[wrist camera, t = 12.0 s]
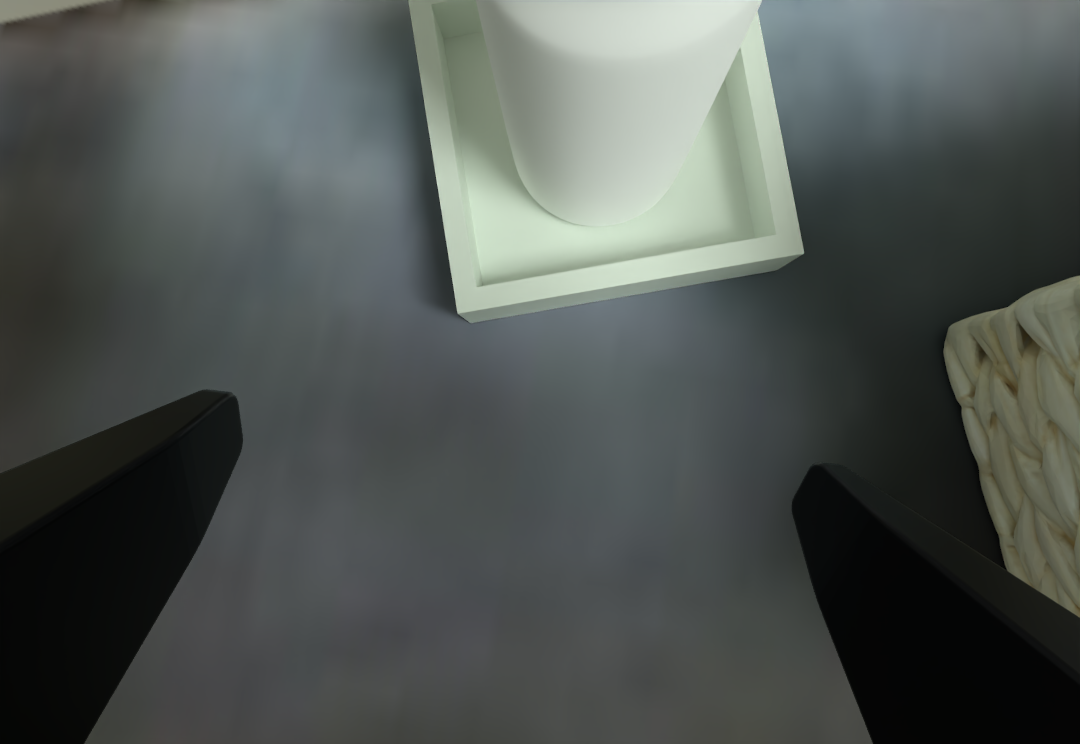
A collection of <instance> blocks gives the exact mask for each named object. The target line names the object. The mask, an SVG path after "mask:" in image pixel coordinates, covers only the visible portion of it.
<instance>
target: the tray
mask: <svg viewBox="0 0 1080 744" xmlns="http://www.w3.org/2000/svg"><path fill="white" fill-rule="evenodd" d="M408 2H409V8H410V15H411V21H412V27H413V34H414V40H415V46H416V53H417V59H418V65H419V72H420V78H421V84H422V91H423V97H424V104H425V110H426V116H427V123H428V129H429V135H430V142H431V148H432V154H433V161H434V167H435V173H436V180H437V186H438V192H439V199H440V205H441V211H442V218H443V224H444V231H445V237H446V243H447V250H448V256H449V262H450V269H451V275H452V281H453V288H454V294H455V300H456V307H457V313H458V314H459V315H460V316H461V317H463V318H464V319H465V320H467V321H468V322H470V323H475V322H481V321H487V320H493V319H499V318H504V317H510V316H516V315H522V314H528V313H533V312H539V311H545V310H551V309H556V308H562V307H568V306H574V305H580V304H585V303H591V302H597V301H603V300H609V299H614V298H620V297H626V296H632V295H637V294H643V293H649V292H655V291H661V290H666V289H672V288H678V287H684V286H690V285H695V284H701V283H707V282H713V281H719V280H724V279H730V278H736V277H742V276H747V275H753V274H759V273H765V272H771V271H776V270H778V269H780V268H781V267H783V266H785V265H786V264H788V263H790V262H791V261H793V260H794V259H796V258H798V257H799V256H801V255H803V254H804V249H803V244H802V238H801V233H800V228H799V223H798V218H797V213H796V207H795V202H794V197H793V192H792V187H791V182H790V176H789V171H788V166H787V161H786V156H785V151H784V145H783V140H782V135H781V130H780V125H779V120H778V114H777V109H776V104H775V99H774V94H773V89H772V83H771V78H770V73H769V68H768V63H767V58H766V52H765V47H764V42H763V37H762V32H761V27H760V21H759V16H758V11H757V12H756V14H755V17H754V19H753V21H752V23H751V25H750V27H749V29H748V31H747V33H746V36H745V38H744V40H743V42H742V44H741V46H740V48H739V50H738V52H737V54H736V56H735V59H734V61H733V63H732V65H731V67H730V69H729V71H728V73H727V75H726V77H725V79H724V81H723V83H722V85H721V88H720V90H719V92H718V94H717V96H716V98H715V100H714V102H713V104H712V106H711V108H710V110H709V112H708V114H707V116H706V118H705V120H704V123H703V125H702V127H701V129H700V131H699V133H698V135H697V137H696V139H695V141H694V143H693V145H692V147H691V149H690V151H689V153H688V155H687V157H686V159H685V161H684V163H683V165H682V167H681V169H680V171H679V173H678V175H677V177H676V178H675V180H674V182H673V184H672V185H671V187H670V188H669V189H668V191H667V192H666V193H665V195H664V196H663V197H662V198H661V199H660V200H659V201H658V202H657V203H656V204H655V205H654V206H653V207H651V208H650V209H649V210H647V211H646V212H644V213H643V214H641V215H639V216H637V217H635V218H633V219H631V220H629V221H626V222H623V223H619V224H615V225H610V226H584V225H579V224H574V223H571V222H568V221H565V220H563V219H561V218H559V217H557V216H555V215H553V214H551V213H550V212H548V211H547V210H546V209H544V208H543V207H542V206H541V205H540V204H539V203H537V202H536V200H535V199H534V198H533V197H532V196H531V195H530V193H529V192H528V191H527V189H526V188H525V186H524V184H523V182H522V180H521V178H520V176H519V174H518V171H517V168H516V165H515V162H514V158H513V154H512V150H511V146H510V142H509V138H508V134H507V130H506V126H505V122H504V118H503V114H502V110H501V105H500V101H499V97H498V93H497V89H496V85H495V80H494V76H493V72H492V68H491V64H490V59H489V55H488V51H487V47H486V42H485V38H484V34H483V29H482V25H481V21H480V17H479V12H478V8H477V4H476V0H408Z"/></svg>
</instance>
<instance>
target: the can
mask: <svg viewBox="0 0 1080 744" xmlns="http://www.w3.org/2000/svg"><path fill="white" fill-rule="evenodd" d="M761 2H762V0H476V4H477V8H478V12H479V17H480V21H481V25H482V29H483V34H484V38H485V42H486V47H487V51H488V55H489V59H490V64H491V68H492V72H493V76H494V80H495V85H496V89H497V93H498V97H499V101H500V105H501V110H502V114H503V118H504V122H505V126H506V130H507V134H508V138H509V142H510V146H511V150H512V154H513V158H514V162H515V165H516V168H517V171H518V174H519V176H520V178H521V180H522V182H523V184H524V186H525V188H526V189H527V191H528V192H529V193H530V195H531V196H532V197H533V198H534V199H535V200H536V202H537V203H539V204H540V205H541V206H542V207H543V208H544V209H546V210H547V211H548V212H550V213H551V214H553V215H555V216H557V217H559V218H561V219H563V220H565V221H568V222H571V223H574V224H579V225H584V226H610V225H615V224H619V223H623V222H626V221H629V220H631V219H633V218H635V217H637V216H639V215H641V214H643V213H644V212H646V211H647V210H649V209H650V208H651V207H653V206H654V205H655V204H656V203H657V202H658V201H659V200H660V199H661V198H662V197H663V196H664V195H665V193H666V192H667V191H668V189H669V188H670V187H671V185H672V184H673V182H674V180H675V178H676V177H677V175H678V173H679V171H680V169H681V167H682V165H683V163H684V161H685V159H686V157H687V155H688V153H689V151H690V149H691V147H692V145H693V143H694V141H695V139H696V137H697V135H698V133H699V131H700V129H701V127H702V125H703V123H704V120H705V118H706V116H707V114H708V112H709V110H710V108H711V106H712V104H713V102H714V100H715V98H716V96H717V94H718V92H719V90H720V88H721V85H722V83H723V81H724V79H725V77H726V75H727V73H728V71H729V69H730V67H731V65H732V63H733V61H734V59H735V56H736V54H737V52H738V50H739V48H740V46H741V44H742V42H743V40H744V38H745V36H746V33H747V31H748V29H749V27H750V25H751V23H752V21H753V19H754V17H755V14H756V12H757V10H758V8H759V6H760V4H761Z"/></svg>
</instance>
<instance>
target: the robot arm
mask: <svg viewBox="0 0 1080 744" xmlns="http://www.w3.org/2000/svg"><path fill="white" fill-rule="evenodd" d="M242 444H243V434H242V427H241V420H240V412H239V405H238V400H237V398H236V396H235V395H234V394H233V393H231V392H224V391H216V390H207V389H206V390H201V391H198V392H196V393H193V394H191V395H189V396H186V397H184V398H181V399H179V400H176V401H174V402H172V403H169V404H167V405H164V406H162V407H160V408H157V409H155V410H152V411H150V412H148V413H145V414H143V415H140V416H138V417H136V418H133V419H131V420H128V421H126V422H123V423H121V424H119V425H116V426H114V427H111V428H109V429H107V430H104V431H102V432H99V433H97V434H95V435H92V436H90V437H87V438H85V439H82V440H80V441H78V442H75V443H73V444H70V445H68V446H66V447H63V448H61V449H58V450H56V451H54V452H51V453H49V454H46V455H44V456H42V457H39V458H37V459H34V460H32V461H29V462H27V463H25V464H22V465H20V466H17V467H15V468H13V469H10V470H8V471H5V472H3V473H1V474H0V744H84V743H85V741H86V739H87V738H88V736H89V734H90V733H91V731H92V729H93V727H94V726H95V724H96V722H97V721H98V719H99V717H100V715H101V714H102V712H103V710H104V709H105V707H106V705H107V703H108V702H109V700H110V698H111V697H112V695H113V693H114V691H115V690H116V688H117V686H118V685H119V683H120V681H121V679H122V678H123V676H124V674H125V673H126V671H127V669H128V667H129V666H130V664H131V662H132V661H133V659H134V657H135V656H136V654H137V652H138V650H139V649H140V647H141V645H142V644H143V642H144V640H145V638H146V637H147V635H148V633H149V632H150V630H151V628H152V626H153V625H154V623H155V621H156V620H157V618H158V616H159V614H160V613H161V611H162V609H163V608H164V606H165V604H166V602H167V601H168V599H169V597H170V596H171V594H172V592H173V590H174V589H175V587H176V585H177V584H178V582H179V580H180V578H181V577H182V575H183V573H184V572H185V570H186V568H187V567H188V565H189V563H190V561H191V560H192V558H193V556H194V554H195V552H196V551H197V549H198V547H199V545H200V543H201V541H202V539H203V537H204V535H205V533H206V531H207V528H208V526H209V524H210V522H211V519H212V517H213V515H214V512H215V510H216V508H217V506H218V503H219V501H220V499H221V496H222V494H223V492H224V490H225V487H226V485H227V483H228V481H229V478H230V476H231V474H232V471H233V469H234V467H235V465H236V462H237V460H238V458H239V455H240V453H241V449H242ZM792 514H793V518H794V522H795V525H796V529H797V532H798V536H799V539H800V543H801V547H802V550H803V554H804V557H805V561H806V564H807V568H808V571H809V575H810V579H811V582H812V586H813V589H814V592H815V595H816V598H817V601H818V604H819V607H820V610H821V612H822V615H823V618H824V620H825V623H826V625H827V628H828V630H829V633H830V635H831V638H832V640H833V643H834V646H835V648H836V651H837V653H838V656H839V658H840V661H841V663H842V666H843V669H844V671H845V674H846V676H847V679H848V681H849V684H850V686H851V689H852V691H853V694H854V697H855V699H856V702H857V704H858V707H859V709H860V712H861V714H862V717H863V719H864V722H865V725H866V727H867V730H868V732H869V735H870V737H871V740H872V742H873V744H1080V617H1078V616H1077V615H1075V614H1074V613H1072V612H1070V611H1069V610H1067V609H1066V608H1064V607H1063V606H1061V605H1060V604H1058V603H1056V602H1055V601H1053V600H1052V599H1050V598H1049V597H1047V596H1046V595H1044V594H1042V593H1041V592H1039V591H1038V590H1036V589H1035V588H1033V587H1031V586H1030V585H1028V584H1027V583H1025V582H1024V581H1022V580H1021V579H1019V578H1017V577H1016V576H1014V575H1013V574H1011V573H1010V572H1008V571H1007V570H1005V569H1003V568H1002V567H1000V566H999V565H997V564H996V563H994V562H993V561H991V560H989V559H988V558H986V557H985V556H983V555H982V554H980V553H978V552H977V551H975V550H974V549H972V548H971V547H969V546H968V545H966V544H964V543H963V542H961V541H960V540H958V539H957V538H955V537H954V536H952V535H950V534H949V533H947V532H946V531H944V530H943V529H941V528H939V527H938V526H936V525H935V524H933V523H932V522H930V521H929V520H927V519H925V518H924V517H922V516H921V515H919V514H918V513H916V512H915V511H913V510H911V509H910V508H908V507H907V506H905V505H904V504H902V503H900V502H899V501H897V500H896V499H894V498H893V497H891V496H890V495H888V494H886V493H885V492H883V491H882V490H880V489H879V488H877V487H876V486H874V485H872V484H871V483H869V482H868V481H866V480H865V479H863V478H861V477H860V476H858V475H857V474H855V473H854V472H852V471H851V470H849V469H847V468H846V467H844V466H842V465H839V464H832V463H823V462H818V463H815V464H813V465H812V466H811V467H810V468H809V470H808V472H807V474H806V475H805V477H804V479H803V481H802V483H801V485H800V486H799V488H798V490H797V492H796V494H795V496H794V498H793V501H792Z"/></svg>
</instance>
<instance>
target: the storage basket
mask: <svg viewBox="0 0 1080 744" xmlns="http://www.w3.org/2000/svg"><path fill="white" fill-rule="evenodd" d="M943 353H944V358H945V364H946V368H947V372H948V376H949V380H950V384H951V386H952V389H953V391H954V394H955V397H956V399H957V401H958V402H959V404H960V405H961V407H962V411H961V414H962V419H963V424H964V428H965V432H966V435H967V438H968V441H969V444H970V447H971V451H972V453H973V455H974V457H975V459H976V461H977V463H978V467H979V478H980V483H981V488H982V491H983V494H984V498H985V501H986V504H987V507H988V510H989V513H990V516H991V518H992V521H993V523H994V526H995V528H996V531H997V533H998V535H999V539H1000V547H1001V551H1002V555H1003V559H1004V563H1005V566H1006V569H1007V571H1008V572H1010V573H1011V574H1013V575H1014V576H1016V577H1017V578H1019V579H1021V580H1022V581H1024V582H1025V583H1027V584H1028V585H1030V586H1031V587H1033V588H1035V589H1036V590H1038V591H1039V592H1041V593H1042V594H1044V595H1046V596H1047V597H1049V598H1050V599H1052V600H1053V601H1055V602H1056V603H1058V604H1060V605H1061V606H1063V607H1064V608H1066V609H1067V610H1069V611H1070V612H1072V613H1074V614H1075V615H1077V616H1078V617H1080V275H1079V276H1076V277H1071V278H1068V279H1066V280H1063V281H1060V282H1057V283H1054V284H1052V285H1049V286H1046V287H1042V288H1039V289H1036V290H1033V291H1032V292H1030V293H1028V294H1026V295H1024V296H1023V297H1021V298H1020V299H1018V300H1017V301H1015V302H1014V303H1013V304H1011V305H1010V306H1009V307H1006V308H1003V309H999V310H994V311H989V312H984V313H981V314H978V315H974V316H971V317H968V318H966V319H963V320H961V321H958V322H956V323H954V324H952V325H951V326H950V327H949V328H948V332H947V336H946V340H945V344H944V350H943Z"/></svg>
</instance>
